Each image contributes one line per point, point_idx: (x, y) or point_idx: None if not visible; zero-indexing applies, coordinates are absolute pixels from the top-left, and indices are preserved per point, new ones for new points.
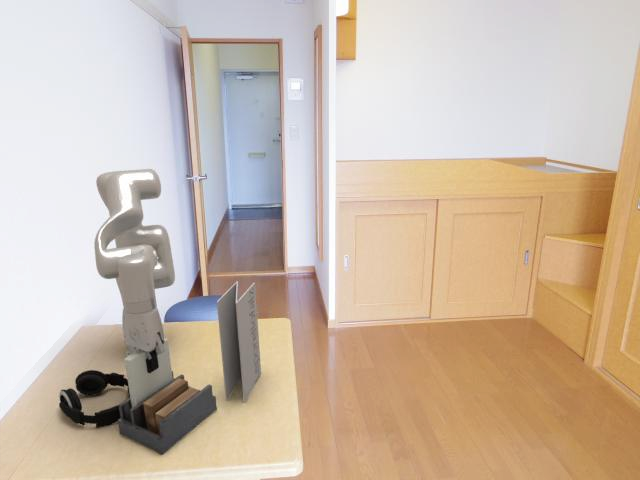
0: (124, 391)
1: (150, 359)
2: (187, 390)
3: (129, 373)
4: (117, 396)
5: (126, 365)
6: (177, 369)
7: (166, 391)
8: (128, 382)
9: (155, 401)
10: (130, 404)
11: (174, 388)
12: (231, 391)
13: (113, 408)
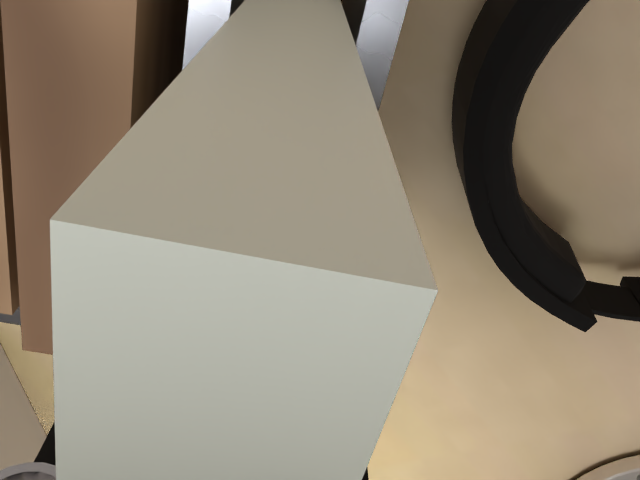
0: (602, 255)
1: (7, 478)
2: (3, 278)
3: (272, 76)
4: (623, 208)
5: (337, 155)
6: (405, 451)
7: (70, 195)
8: (344, 45)
9: (39, 28)
10: (359, 5)
11: (41, 249)
12: (5, 382)
13: (542, 4)
